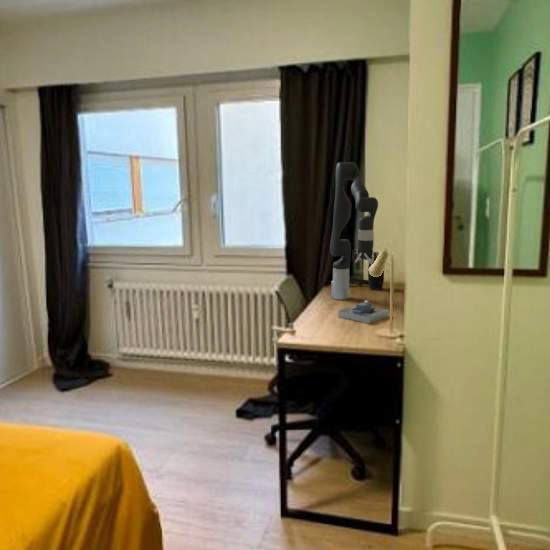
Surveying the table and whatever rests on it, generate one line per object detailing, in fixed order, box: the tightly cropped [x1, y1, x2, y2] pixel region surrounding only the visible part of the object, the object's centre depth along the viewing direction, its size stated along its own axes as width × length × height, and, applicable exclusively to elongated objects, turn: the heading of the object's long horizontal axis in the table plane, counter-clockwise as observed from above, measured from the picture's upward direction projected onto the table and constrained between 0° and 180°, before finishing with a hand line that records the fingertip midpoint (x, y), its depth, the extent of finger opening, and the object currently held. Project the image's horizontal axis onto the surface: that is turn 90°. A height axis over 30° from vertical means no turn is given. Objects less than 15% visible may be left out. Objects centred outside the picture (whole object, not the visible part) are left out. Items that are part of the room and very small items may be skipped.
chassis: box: [337, 304, 390, 324], centre depth 244 cm, size 18×17×3 cm
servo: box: [353, 300, 376, 314], centre depth 243 cm, size 4×13×7 cm, turn 136°
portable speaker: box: [367, 256, 385, 291], centre depth 302 cm, size 9×9×20 cm
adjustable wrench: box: [349, 275, 369, 287], centre depth 313 cm, size 8×3×25 cm
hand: (364, 271), depth 247 cm, fingers open, 8 cm apart
